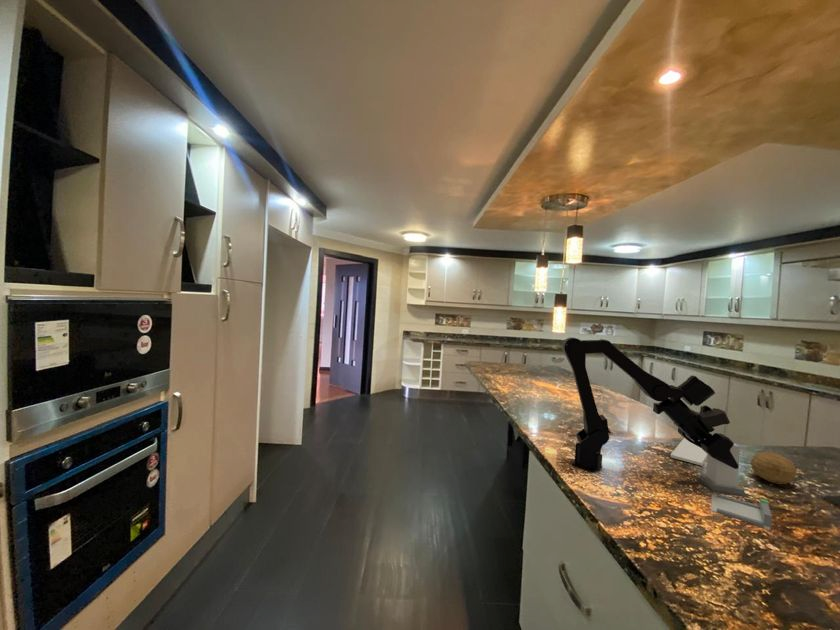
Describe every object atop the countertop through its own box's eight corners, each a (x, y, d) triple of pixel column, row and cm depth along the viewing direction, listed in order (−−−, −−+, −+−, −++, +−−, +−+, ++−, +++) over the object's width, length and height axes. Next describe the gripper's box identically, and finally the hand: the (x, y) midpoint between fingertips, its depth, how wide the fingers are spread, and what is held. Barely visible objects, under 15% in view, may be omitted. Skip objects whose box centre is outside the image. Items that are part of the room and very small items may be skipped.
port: (711, 512, 84) (712, 497, 84) (711, 496, 92) (712, 483, 92) (771, 530, 77) (772, 515, 77) (765, 511, 86) (766, 497, 86)
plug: (712, 490, 95) (715, 438, 95) (699, 479, 102) (702, 430, 102) (744, 495, 93) (747, 442, 93) (729, 484, 100) (731, 434, 100)
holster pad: (710, 492, 94) (710, 491, 94) (694, 478, 103) (694, 477, 103) (751, 499, 92) (751, 498, 92) (731, 484, 101) (731, 483, 101)
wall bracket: (700, 485, 112) (717, 455, 131) (708, 466, 110) (724, 438, 129) (664, 467, 119) (685, 440, 138) (671, 448, 117) (691, 424, 136)
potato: (790, 479, 107) (791, 452, 107) (801, 495, 96) (803, 466, 96) (746, 468, 113) (748, 443, 113) (752, 483, 102) (753, 455, 102)
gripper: (726, 405, 90) (777, 456, 87) (691, 392, 108) (733, 433, 105) (688, 432, 92) (737, 482, 89) (660, 414, 110) (700, 455, 107)
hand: (727, 461), depth 97 cm, fingers open, 9 cm apart
